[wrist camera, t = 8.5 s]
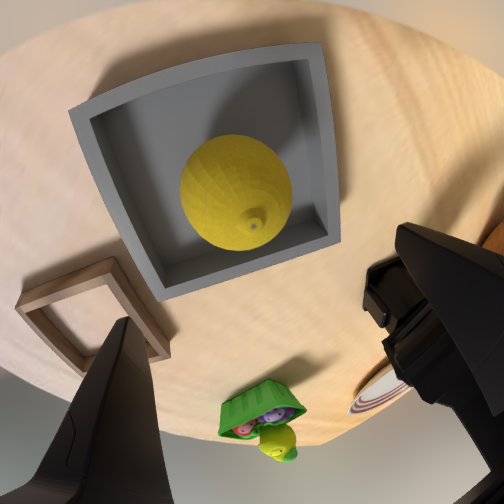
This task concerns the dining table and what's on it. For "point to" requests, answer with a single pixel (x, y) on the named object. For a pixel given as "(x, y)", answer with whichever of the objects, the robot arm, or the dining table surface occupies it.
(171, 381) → the dining table surface
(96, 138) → the tray
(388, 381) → the dinner plate
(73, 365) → the lemon holder
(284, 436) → the fruit basket
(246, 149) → the lemon
